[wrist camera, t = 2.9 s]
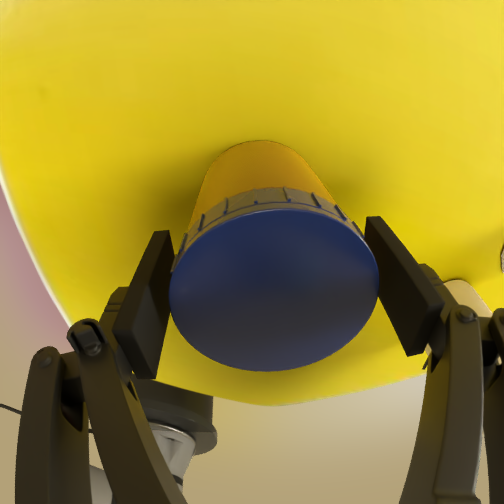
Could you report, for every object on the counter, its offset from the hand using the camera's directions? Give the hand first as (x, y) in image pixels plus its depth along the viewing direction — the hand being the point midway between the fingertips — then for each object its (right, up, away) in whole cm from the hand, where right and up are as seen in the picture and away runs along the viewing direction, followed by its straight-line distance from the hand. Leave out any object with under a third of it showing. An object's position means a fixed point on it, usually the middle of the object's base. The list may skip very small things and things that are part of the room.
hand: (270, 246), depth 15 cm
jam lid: (0, -2, -3) cm, 4 cm away
